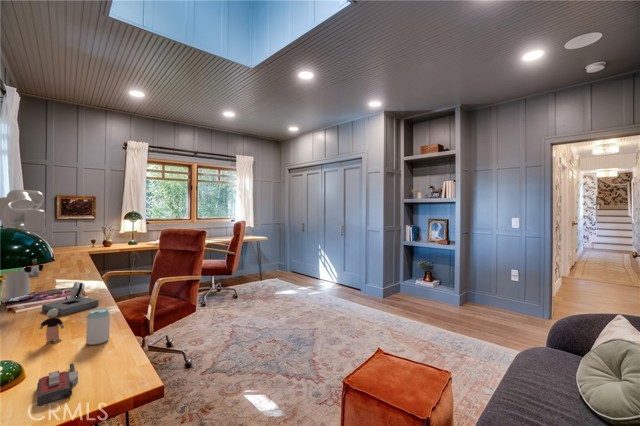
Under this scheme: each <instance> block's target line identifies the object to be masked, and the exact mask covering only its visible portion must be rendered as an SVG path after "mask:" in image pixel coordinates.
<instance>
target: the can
mask: <svg viewBox="0 0 640 426" xmlns="http://www.w3.org/2000/svg"><path fill="white" fill-rule="evenodd" d="M110 319H111V313H110V311H109V309H108V308H106V307H105V308H103V307H102V308H96V309H95V308H94V309H91V310H89V311H88V314H87V316H86V331H85V333H86V335H85V339H86V340H85V343H86V344H87V345H90V346H96V345H101V344H104V343H106V342H107V341H108V340H109V339H110V328H111V327H110V326H111V325H110V324H111V323H110V322H111V320H110Z"/></svg>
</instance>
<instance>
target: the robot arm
mask: <svg viewBox="0 0 640 426" xmlns="http://www.w3.org/2000/svg"><path fill="white" fill-rule="evenodd" d="M44 202H45V196H44V194H43V193H42V192H41V191H39V190H32V189H31V190H30V189H29V190H28V189H14V190H10V191H9V192H7V194H6V196H2V197H0V222H1V224H2V228H3V227H15V228H21V229H25V230H28V231H31V232H34V233H36V234H38V235H39V236H41V237H42V238H43V239H44V240H45V241H47V242H48V237H47V235H49V232H48V231H46V217H47V215H46V210H44V209H40V207H42V205H43V204H44ZM48 243H49V242H48ZM30 268H31V267H26V268H24V269H23V270H22V271H19V272H15V273H10V274H6V275H5V278H4V279H5V280H4V297H3V298H1V299H2V302H1V304H2V303H4V304H5V302H7V301H9V300H10V299H11V298H15V297H20V296H24V295H28V294H31V278H28V273H30ZM43 269H44V264H43V265H39V272H42V271H43Z"/></svg>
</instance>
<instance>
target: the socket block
mask: <svg viewBox="0 0 640 426" xmlns="http://www.w3.org/2000/svg"><path fill="white" fill-rule="evenodd" d="M96 307H99V299H94V298H89V297H85V296H81V297H74V298H70V299H66V298H65V299H63V300H58V301H53V302H49V303H45V304H41V312H44V313H48V311H50V310H51V309H58V313H57V316H61V317H62V316H63V317H64V316H67V315H70V314H74V313H77V312H81V311H85V310H88V309H92V308H96Z"/></svg>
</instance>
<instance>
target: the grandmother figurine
mask: <svg viewBox="0 0 640 426" xmlns="http://www.w3.org/2000/svg"><path fill="white" fill-rule="evenodd" d="M57 313H58V309H51V310H50V311H48V312H46V314H45V316H46V317H48V318H47V319H45V320H44V321H41V323H40V326H39V327H38V329H39V330H42V329H43V328H44V327H45V326H46V333H45V334H46V341H47V342H45V345H48V344H58V343H60V342H62V338H60V330H59V327H60V329H64V328H65V325H64V322H63V321H62V320H61V319H60V318H58V315H57Z"/></svg>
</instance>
